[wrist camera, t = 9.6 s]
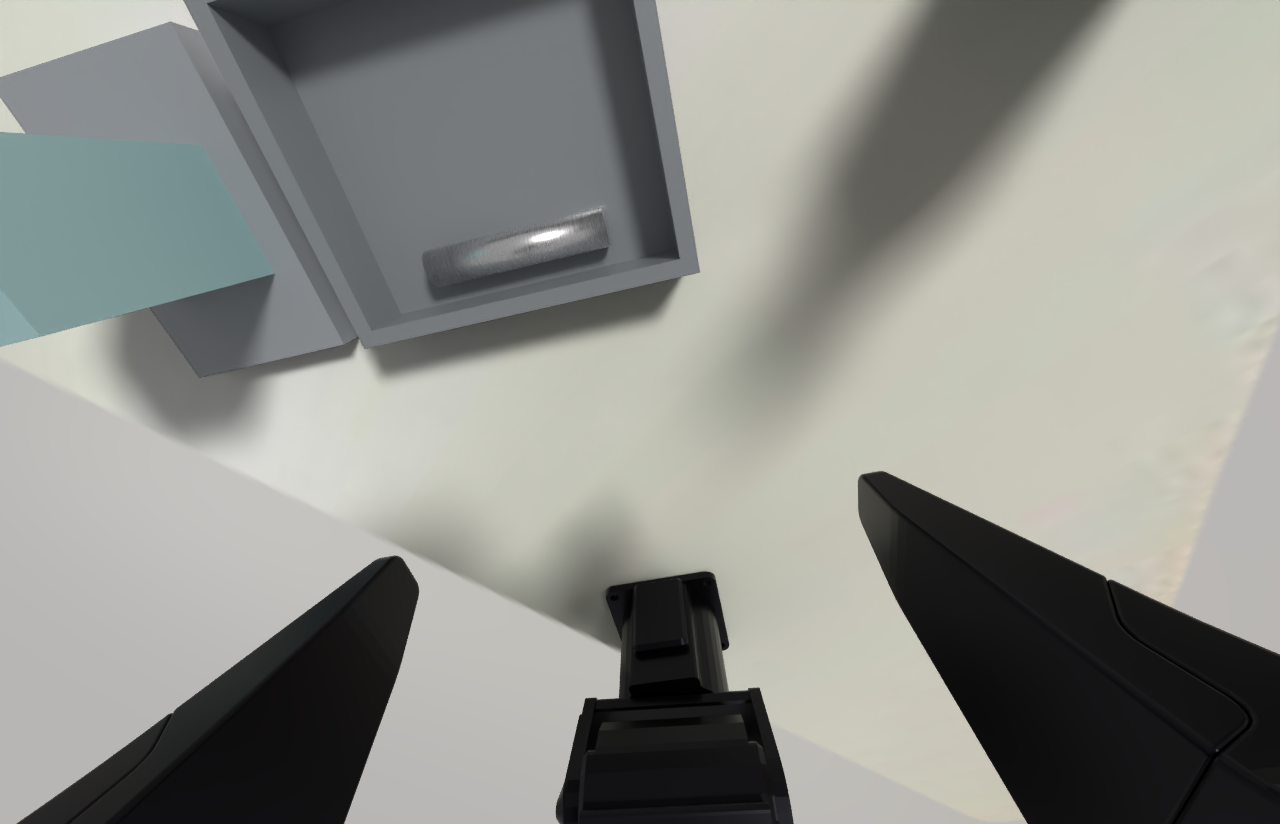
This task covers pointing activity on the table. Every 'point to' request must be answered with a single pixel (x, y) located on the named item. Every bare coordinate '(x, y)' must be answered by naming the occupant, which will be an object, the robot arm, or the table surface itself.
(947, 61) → the table surface
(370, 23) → the case
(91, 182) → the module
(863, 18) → the table surface
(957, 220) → the table surface
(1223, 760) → the robot arm
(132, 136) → the lid panel
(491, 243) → the rod
